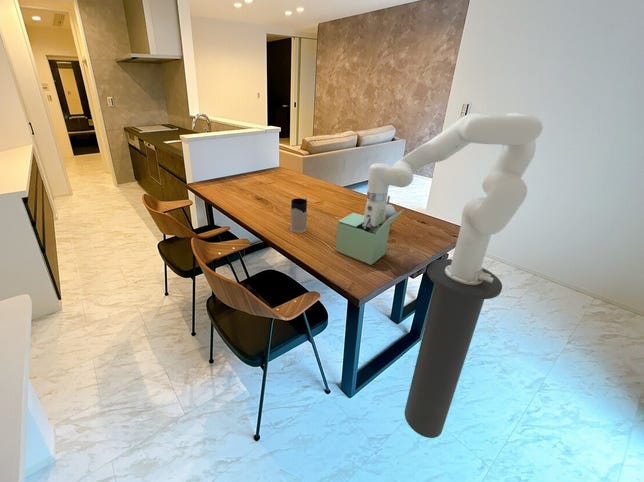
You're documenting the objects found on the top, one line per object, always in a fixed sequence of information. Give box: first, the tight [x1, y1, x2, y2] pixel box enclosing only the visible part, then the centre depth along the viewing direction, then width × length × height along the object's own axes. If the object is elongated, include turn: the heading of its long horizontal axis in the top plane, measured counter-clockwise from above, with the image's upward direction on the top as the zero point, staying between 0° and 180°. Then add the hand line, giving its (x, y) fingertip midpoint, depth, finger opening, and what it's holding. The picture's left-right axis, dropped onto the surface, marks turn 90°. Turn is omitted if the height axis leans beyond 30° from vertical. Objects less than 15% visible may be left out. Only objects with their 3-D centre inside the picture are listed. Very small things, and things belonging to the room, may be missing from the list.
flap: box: [376, 209, 404, 233], centre depth 114 cm, size 8×13×1 cm
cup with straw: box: [382, 195, 397, 232], centre depth 144 cm, size 9×9×18 cm
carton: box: [335, 212, 391, 266], centre depth 125 cm, size 17×13×14 cm
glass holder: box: [289, 197, 308, 234], centre depth 148 cm, size 9×14×15 cm, turn 152°
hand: (371, 236), depth 121 cm, fingers closed on beverage can, 6 cm apart
